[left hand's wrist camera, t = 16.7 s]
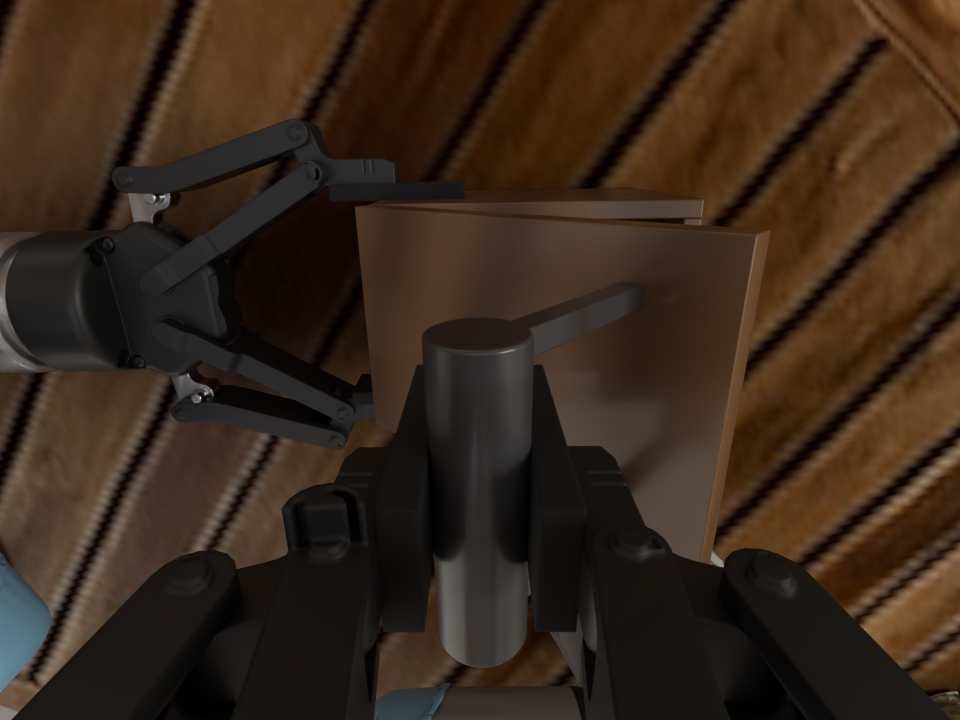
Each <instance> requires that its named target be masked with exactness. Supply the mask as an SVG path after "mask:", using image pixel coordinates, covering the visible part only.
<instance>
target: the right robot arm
mask: <svg viewBox="0 0 960 720" xmlns="http://www.w3.org/2000/svg"><path fill="white" fill-rule="evenodd" d="M292 155H295V156H296V158H297V160H298V162H299V164H300V166H299V167H298V168H296V169H295V170H294V171H292V172H291V173H289V174H288V175H287V176H285V177H284V178H282V179H281V180H279V181H278V182H277V183H275V184H274V185H272V186H271V187H270V188H268V189H267V190H265V191H264V192H263V193H261V194H260V195H258V196H257V197H256V198H254V199H253V200H251V201H250V202H249V203H247V204H246V205H244V206H243V207H242V208H240V209H239V210H237V211H236V212H235V213H233V214H232V215H230V216H229V217H228V218H226V219H225V220H223V221H222V222H221V223H219V224H218V225H216V226H215V227H214V228H212V229H211V230H209V231H208V232H206V233H204V234H202V235H200V236H198V237H197V238H195V239H192V238H191V237H189V236H187V235H186V234H184V233H183V232H181V231H179V230H178V229H176V228H175V227H173V226H171V225H170V224H168V223H166V222H164V221H163V214H164V212H165V211H166V210H167V209H170V208H174V207H176V206H177V205H178V204H179V201H180V199H181V194H180V192H184V191H192V190H197V189H201V188H204V187H207V186H210V185H212V184H215V183H218V182H221V181H223V180H226V179H229V178H232V177H234V176H237V175H240V174H243V173H246V172H248V171H251V170H254V169H257V168H259V167H262V166H265V165H268V164H270V163H273V162H276V161H279V160H281V159H284V158H287V157H290V156H292ZM112 181H113V183H114V185H115V186H116V188H117V189H119V190H120V191H122V192H125V193H128V197H129V202H130V207H131V212H132V217H133V222H134V223H131V224H130V225H128V226H127V227H125V228H124V229H122V230H96V231H51V232H45V233H38V232H0V372H52V371H58V370H62V371H112V370H136V369H152V370H155V371H158V372H161V373H163V374H165V375H168V376H172V380H173V383H174V386H175V390H176V393H177V396H178V399H179V402H178V403H177V404H176V405H174V406H173V407H172V409H171V414H172V416H173V418H174V419H175V420H177V421H179V422H182V423H190V422H205V421H216V422H220V423H224V424H229V425H233V426H237V427H241V428H245V429H250V430H254V431H258V432H262V433H266V434H270V435H275V436H279V437H283V438H287V439H291V440H295V441H300V442H304V443H308V444H312V445H316V446H320V447H325V448H329V449H333V450H339V449H341V448H343V447H344V445H345V443H346V441H347V439H348V437H349V435H350V433H351V430H352V428H353V426H354V421H356V420H357V419H360V418H375V410H374V399H373V389H372V379H371V374H362V375H361V377H360V379H359V381H358V383H357V384H356V386H353V385H351V384H349V383H347V382H345V381H343V380H341V379H339V378H337V377H335V376H333V375H331V374H329V373H327V372H325V371H323V370H321V369H319V368H317V367H315V366H313V365H311V364H309V363H307V362H305V361H303V360H301V359H299V358H297V357H295V356H293V355H291V354H289V353H287V352H285V351H283V350H281V349H279V348H277V347H275V346H273V345H271V344H269V343H267V342H265V341H263V340H261V339H260V336H259V335H258V334H257V333H255V332H253V331H251V330H249V329H247V328H245V327H243V326H241V325H239V324H240V323H241V322H243V320H242V314H241V309H240V307H239V304H238V302H237V300H236V298H235V296H234V290H235V277H234V272H233V268H228V266H227V264H226V262H225V261H224V260H225V259H227V258H228V257H230V256H231V255H232V254H234V253H235V252H237V251H238V250H240V249H241V248H242V247H244V245H245V244H246V243H248V242H249V241H251V240H252V239H254V238H255V237H257V236H258V235H259V234H261V233H262V232H264V231H265V230H267V229H268V228H270V227H271V226H272V225H274V224H275V223H277V222H278V221H280V220H281V219H282V218H284V217H285V216H287V215H288V214H290V213H291V212H293V211H294V210H295V209H297V208H298V207H300V206H301V205H303V204H304V203H306V202H307V201H308V200H310V199H311V198H313V197H314V196H316V195H317V194H318V193H320V192H321V191H323V190H324V189H326V188H327V187H329V196H330V202H338V201H380V200H424V199H464V198H465V181H442V182H399V171H398V163H397V162H395V161H392V160H390V159H337V158H334V157H333V156H331V155H330V154H329V152H328V151H327V149H326V147H325V145H324V143H323V140H322V134H321V131H320V129H319V127H318V126H316V125H315V124H313V123H310V122H306V121H302V120H298V119H288V120H286V121H283V122H280V123H277V124H275V125H272V126H269V127H267V128H264V129H261V130H259V131H256V132H253V133H250V134H248V135H245V136H242V137H240V138H237V139H234V140H232V141H229V142H226V143H223V144H221V145H218V146H215V147H213V148H210V149H207V150H205V151H202V152H199V153H196V154H194V155H191V156H188V157H186V158H183V159H180V160H178V161H175V162H172V163H169V164H167V165H164V166H161V167H157V166H130V167H117V168H116V169H115V170H114V171H113V173H112ZM226 343H227V344H229V345H225V344H226ZM203 362H205V363H208V364H210V365H212V366H214V367H216V368H218V369H220V370H222V371H225V372H237V373H240V374H242V375H244V376H246V377H248V378H250V379H252V380H254V381H257V382H259V383H261V384H263V385H265V386H267V387H269V388H271V389H273V390H275V391H277V392H279V393H282V394H284V395H286V396H288V397H290V398H292V399H294V400H292V399H288V398H284V397H280V396H275V395H271V394H267V393H263V392H259V391H255V390H251V389H247V388H243V387H238V386H231V385H220V381H219V380H218V379H216V378H213V379H211V378H205V377H203V376H202V375H200V374H199V373H198V371H197V369H196V367H198V366H199V365H200V364H201V363H203ZM50 622H51V615H50V611H49V609H48V607H47V605H46V604H45V602H44V601H43V600H42V599H41V598H40V597H39V596H38V595H37V594H36V593H35V591H34V590H33V589H32V588H31V587H30V586H29V585H28V584H27V583H26V582H25V581H24V580H23V578H22V577H21V576H20V575H19V574H18V573H17V572H16V571H15V570H14V569H13V568H12V567H11V566H10V564H9V561H8V558H7V556H6V554H5V552H4V550H3V548H2V547H1V545H0V692H1V691H2V690H3V689H4V688H5V687H6V686H7V685H8V684H9V683H10V682H11V681H12V680H13V679H14V677H15V676H16V675H17V674H18V673H19V672H20V671H21V670H22V669H23V668H24V667H25V666H26V664H27V663H28V662H29V661H30V660H31V658H32V657H33V656H34V654H35V653H36V651H37V650H38V649H39V647H40V646H41V644H42V643H43V641H44V639H45V638H46V636H47V633H48V631H49V627H50Z"/></svg>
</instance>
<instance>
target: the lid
mask: <svg viewBox="0 0 960 720" xmlns="http://www.w3.org/2000/svg"><path fill="white" fill-rule="evenodd" d="M355 214H356V224H357V234H358V245H359V255H360V265H361V276H362V286H363V296H364V307H365V317H366V327H367V337H368V348H369V358H370V368H371V379H372V389H373V399H374V410H375V420H376V424H378V425H380V426H382V427H384V428H386V429H388V430H390V431H392V432H394V433H396V431H397V428H398V425H399V421H400V418H401V415H402V411H403V408H404V405H405V402H406V398H407V395H408V392H409V389H410V385H411V382H412V379H413V375H414V372H415V369H416V366H417V365H423V371H424V388H425V405H426V423H427V440H428V449H429V468H430V489H431V509H432V527H433V544H434V561H435V579H436V596H437V613H438V631H439V638H440V641H441V643H442V645H443V647H444V648H445V650H446V651H447V652H448V654H450V655H451V656H452V657H453V658H454V659H456V660H457V661H459V662H461V663H463V664H465V665H468V666H472V667H479V668H486V667H493V666H497V665H500V664H502V663H504V662H506V661H508V660H509V659H511V658H512V657H513V656H514V655H516V654H517V652H518V651H519V650H520V649H521V647H522V645H523V644H524V641H525V639H526V635H527V610H528V596H529V595H530V594H531V591H530V582H529V574H528V565H527V544H528V516H529V487H530V457H531V444H532V404H533V365H543V368H544V371H545V374H546V377H547V381H548V384H549V387H550V390H551V394H552V397H553V400H554V404H555V407H556V410H557V413H558V417H559V420H560V423H561V426H562V430H563V433H564V436H565V440H566V443H567V446H601V447H603V448H604V449H605V450H606V451H607V452H609V453H610V454H611V455H612V456H613V457H615V459H616V461H617V463H618V466H619V468H620V470H621V474H623V477H624V479H625V481H626V485H627V486H628V488H629V490H630V492H631V494H632V497H633V499H634V501H635V503H636V505H637V508H638V510H639V512H640V514H641V516H642V519H643V521H644V523H645V525H646V527H648V528H651V529H653V530H655V531H656V532H657V533H658V534H660V535H661V536H662V537H663V538H665V539H666V541H667V543H668V544H669V546H670V548H671V549H672V552H673V553H675V554H677V555H679V556H681V557H684V558H687V559H691V560H694V561H698V562H702V563H707V564H710V561H711V555H712V550H713V544H714V539H715V533H716V528H717V522H718V517H719V511H720V506H721V500H722V495H723V489H724V484H725V478H726V473H727V467H728V462H729V456H730V451H731V445H732V440H733V434H734V429H735V424H736V418H737V413H738V407H739V402H740V396H741V391H742V385H743V380H744V374H745V369H746V363H747V358H748V352H749V347H750V341H751V336H752V330H753V325H754V319H755V314H756V308H757V303H758V297H759V292H760V287H761V281H762V276H763V270H764V265H765V259H766V254H767V248H768V243H769V237H770V230H765V229H749V228H734V227H718V226H702V225H687V224H671V223H655V222H640V221H624V220H608V219H593V218H577V217H561V216H546V215H530V214H514V213H499V212H483V211H467V210H452V209H436V208H420V207H405V206H389V205H366V206H356V207H355Z"/></svg>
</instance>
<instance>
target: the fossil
mask: <svg viewBox="0 0 960 720" xmlns="http://www.w3.org/2000/svg"><path fill="white" fill-rule="evenodd" d="M929 697H930V698H931V699H932V700H933V701H934V702H935V703H936V704H937V705H938V706H939V707H940V708H941V709H942V710H943V711H944V712H945V713H946V714H947V715H948V716H949V717H950V719H951V720H960V696H959V694H958V692H957V691H954V692H946V693H939V694H936V695H933V696H929Z"/></svg>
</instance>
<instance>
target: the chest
mask: <svg viewBox="0 0 960 720" xmlns="http://www.w3.org/2000/svg"><path fill="white" fill-rule="evenodd" d="M703 204H704V200H703V199H699V198H693V197H686V196H680V195H674V194H668V193H661V192H655V191H649V190H642V189H636V188H598V189H533V190H468V191H465V198H464V199H424V200H380V201H377V202H375V203H372V204H370V205H389V206H405V207H420V208H436V209H452V210H467V211H483V212H499V213H514V214H530V215H546V216H561V217H577V218H593V219H608V220H624V221H640V222H655V223H671V224H687V225H701V219H700V218H701V217H702V212H703Z"/></svg>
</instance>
